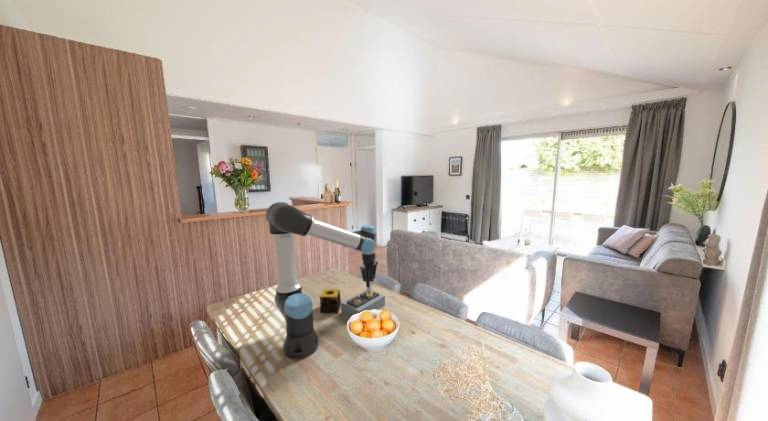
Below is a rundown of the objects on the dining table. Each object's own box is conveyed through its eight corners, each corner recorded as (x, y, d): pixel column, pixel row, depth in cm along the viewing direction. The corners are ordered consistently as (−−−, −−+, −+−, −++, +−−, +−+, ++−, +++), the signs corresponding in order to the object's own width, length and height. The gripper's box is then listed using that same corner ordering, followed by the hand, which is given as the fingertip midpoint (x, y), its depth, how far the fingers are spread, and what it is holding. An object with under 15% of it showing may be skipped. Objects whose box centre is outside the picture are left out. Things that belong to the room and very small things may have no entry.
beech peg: (357, 315, 149) (357, 303, 148) (352, 312, 152) (351, 300, 151) (362, 312, 152) (362, 300, 151) (357, 309, 155) (357, 298, 154)
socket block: (359, 321, 144) (359, 309, 142) (341, 312, 153) (341, 300, 151) (385, 305, 160) (384, 294, 158) (367, 298, 168) (367, 287, 167)
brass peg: (369, 306, 157) (369, 294, 156) (364, 303, 159) (364, 292, 158) (374, 303, 160) (374, 291, 159) (369, 301, 162) (369, 289, 161)
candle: (338, 313, 152) (337, 297, 150) (319, 313, 152) (319, 297, 150) (341, 304, 162) (340, 288, 160) (324, 304, 162) (323, 288, 160)
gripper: (365, 257, 147) (366, 297, 151) (381, 250, 157) (381, 289, 161) (355, 254, 152) (357, 293, 156) (371, 248, 162) (372, 285, 166)
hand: (369, 291), depth 158 cm, fingers closed
